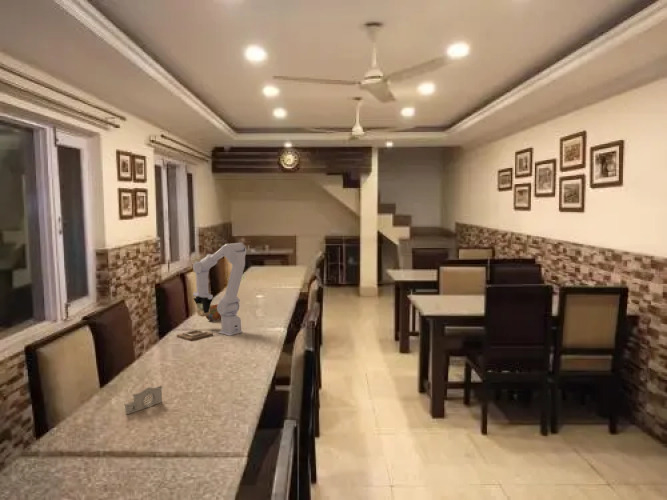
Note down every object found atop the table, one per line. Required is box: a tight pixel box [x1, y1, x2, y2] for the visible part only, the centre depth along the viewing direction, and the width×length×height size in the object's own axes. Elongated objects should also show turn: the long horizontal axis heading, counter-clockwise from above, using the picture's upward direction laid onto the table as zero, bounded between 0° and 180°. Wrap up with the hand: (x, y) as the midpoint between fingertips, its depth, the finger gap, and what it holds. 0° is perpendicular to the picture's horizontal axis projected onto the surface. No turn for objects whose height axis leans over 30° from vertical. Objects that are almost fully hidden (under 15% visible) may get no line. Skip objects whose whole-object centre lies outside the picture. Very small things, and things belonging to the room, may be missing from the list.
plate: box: [176, 329, 214, 342], centre depth 235 cm, size 12×12×2 cm
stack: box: [196, 303, 210, 317], centre depth 249 cm, size 4×4×6 cm
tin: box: [205, 303, 221, 322], centre depth 270 cm, size 15×3×8 cm, turn 143°
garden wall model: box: [123, 385, 163, 415], centre depth 151 cm, size 12×2×6 cm, turn 141°
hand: (203, 311), depth 249 cm, fingers closed on stack, 4 cm apart
